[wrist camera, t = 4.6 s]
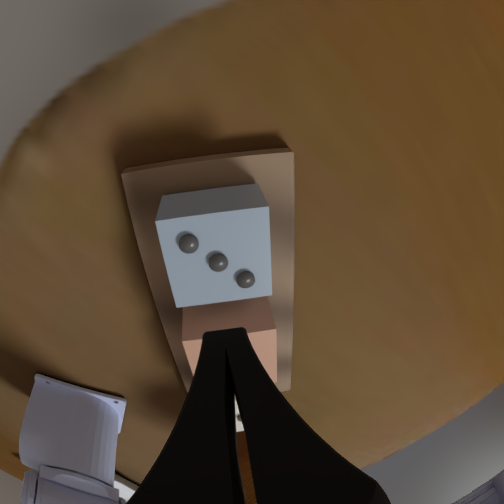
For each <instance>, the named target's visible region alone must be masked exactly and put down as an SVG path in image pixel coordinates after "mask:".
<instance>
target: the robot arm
mask: <svg viewBox="0 0 504 504" xmlns="http://www.w3.org/2000/svg"><path fill="white" fill-rule="evenodd" d="M34 379H35V383H34V386H33V389H32V392H31V395H30V399H29V402H28V405H27V409H26V412H25V416H24V420H23V423H22V427H21V432H20V440H19V455H20V459H21V462H22V463H23V464H24V465H26V466H28V467H30V468H33V469H35V470H33V469H30V471H27V472H25V475H24V480H23V486H22V493H21V500H20V504H246V501H245V495H244V490H243V484H242V478H241V472H240V466H239V460H238V451H237V435H236V415H235V397H236V401H237V405H238V409H239V413H240V417H241V421H242V425H243V428H244V432H245V436H246V441H247V448H248V454H249V460H250V466H251V472H252V478H253V484H254V490H255V496H256V502H257V504H391V503H390V501H389V499H388V497H387V495H386V493H385V492H384V490H383V489H382V488H381V486H380V485H379V484H378V483H377V481H376V480H374V479H373V478H371V477H370V476H368V475H367V474H365V473H364V472H362V471H361V470H360V469H358V468H357V467H355V466H354V465H353V464H351V463H350V462H349V461H348V460H346V459H345V458H344V457H342V456H341V455H340V454H339V453H337V452H336V451H335V450H334V449H333V448H332V447H331V446H330V445H329V444H327V443H326V442H325V441H324V440H323V439H322V438H321V437H320V436H319V435H318V434H317V433H315V432H314V431H313V429H312V428H311V427H310V426H309V425H308V424H307V423H306V422H305V421H304V420H303V419H302V418H301V417H300V416H299V414H298V413H297V412H296V411H295V410H294V409H293V407H292V406H291V405H290V404H289V403H288V401H287V400H286V399H285V397H284V396H283V395H282V393H281V392H280V391H279V389H278V388H277V387H276V385H275V384H274V382H273V381H272V379H271V378H270V376H269V375H268V373H267V371H266V370H265V368H264V367H263V365H262V363H261V362H260V360H259V358H258V356H257V354H256V352H255V351H254V349H253V346H252V344H251V342H250V340H249V337H248V334H247V331H246V329H245V328H243V327H238V328H230V329H223V330H215V331H207V332H205V333H204V334H203V337H202V344H201V350H200V354H199V358H198V362H197V366H196V370H195V373H194V376H193V379H192V383H191V386H190V389H189V391H188V394H187V397H186V399H185V402H184V405H183V407H182V410H181V412H180V415H179V417H178V419H177V421H176V424H175V426H174V428H173V430H172V432H171V434H170V436H169V438H168V440H167V442H166V444H165V446H164V447H163V449H162V451H161V453H160V455H159V456H158V458H157V460H156V461H155V463H154V465H153V466H152V468H151V469H150V471H149V472H148V474H147V475H146V477H145V478H144V480H143V481H142V483H141V484H140V486H139V487H138V489H137V490H136V491H135V493H134V494H133V495H132V496H131V498H130V499H129V500H128V501H127V502H126V501H125V499H123V498H122V497H119V489H116V488H114V475H115V459H116V446H117V435H118V433H120V431H121V426H122V421H123V416H124V412H125V407H126V400H125V399H124V398H121V397H117V396H112V395H108V394H104V393H101V392H97V391H93V390H89V389H86V388H82V387H79V386H75V385H72V384H69V383H65V382H62V381H59V380H56V379H53V378H50V377H47V376H44V375H41V374H35V377H34ZM234 393H235V394H234ZM36 470H37V471H36ZM452 504H504V470H503V471H501V472H500V473H499V474H497V475H496V476H494V477H493V478H492V479H491V480H489V481H487V482H486V483H484V484H483V485H481V486H480V487H478V488H477V489H475V490H474V491H472V492H471V493H469V494H468V495H466V496H464V497H463V498H461V499H459V500H458V501H456V502H454V503H452Z"/></svg>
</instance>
